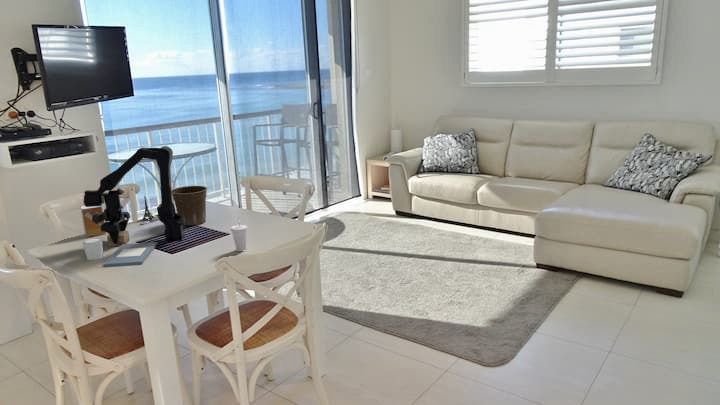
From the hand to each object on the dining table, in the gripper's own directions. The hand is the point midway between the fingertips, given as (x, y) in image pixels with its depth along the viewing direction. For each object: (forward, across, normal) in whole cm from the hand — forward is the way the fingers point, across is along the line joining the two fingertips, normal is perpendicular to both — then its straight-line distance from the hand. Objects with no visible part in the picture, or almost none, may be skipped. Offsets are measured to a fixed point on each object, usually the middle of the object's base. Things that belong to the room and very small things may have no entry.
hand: (118, 240), depth 220 cm
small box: (+1, -15, -15) cm, 21 cm away
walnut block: (+1, 0, 0) cm, 1 cm away
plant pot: (+1, -24, +26) cm, 35 cm away
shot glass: (+1, +16, -4) cm, 17 cm away
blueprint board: (+1, +16, +10) cm, 19 cm away
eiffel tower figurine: (+2, -33, +3) cm, 33 cm away
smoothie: (+1, +19, +53) cm, 56 cm away
